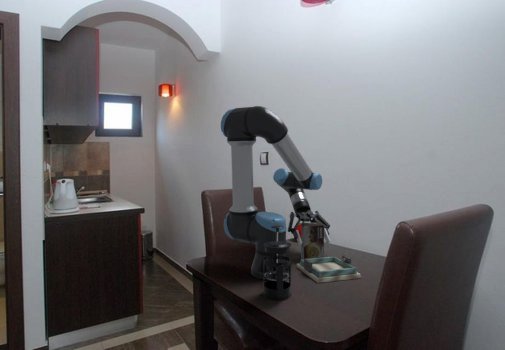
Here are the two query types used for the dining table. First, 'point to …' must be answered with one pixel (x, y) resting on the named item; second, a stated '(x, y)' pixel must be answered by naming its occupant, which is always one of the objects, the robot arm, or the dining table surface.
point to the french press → (277, 270)
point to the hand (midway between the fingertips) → (314, 243)
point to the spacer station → (329, 269)
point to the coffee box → (312, 240)
